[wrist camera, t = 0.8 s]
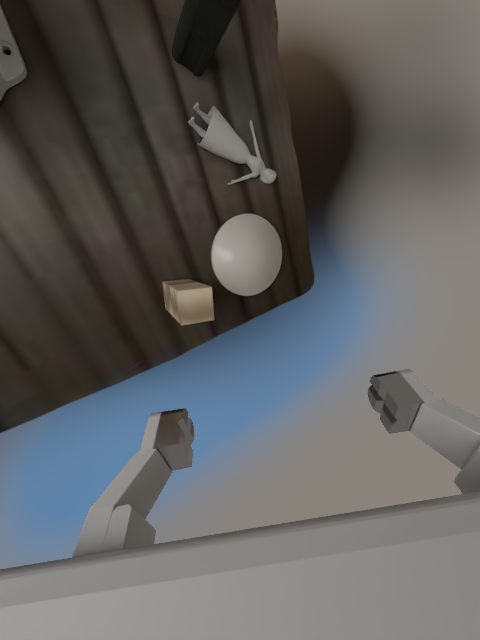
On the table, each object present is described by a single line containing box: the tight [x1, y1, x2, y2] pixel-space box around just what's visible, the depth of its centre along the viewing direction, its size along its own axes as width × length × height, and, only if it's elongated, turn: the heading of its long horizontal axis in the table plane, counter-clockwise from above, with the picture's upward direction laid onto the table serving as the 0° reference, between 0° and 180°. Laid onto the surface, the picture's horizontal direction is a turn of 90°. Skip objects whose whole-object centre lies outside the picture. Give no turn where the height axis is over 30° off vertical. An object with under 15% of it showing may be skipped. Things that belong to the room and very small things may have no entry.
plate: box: [211, 214, 282, 296], centre depth 50 cm, size 16×16×1 cm
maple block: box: [162, 279, 214, 325], centre depth 41 cm, size 5×5×12 cm
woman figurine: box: [188, 103, 276, 185], centre depth 43 cm, size 12×4×18 cm
